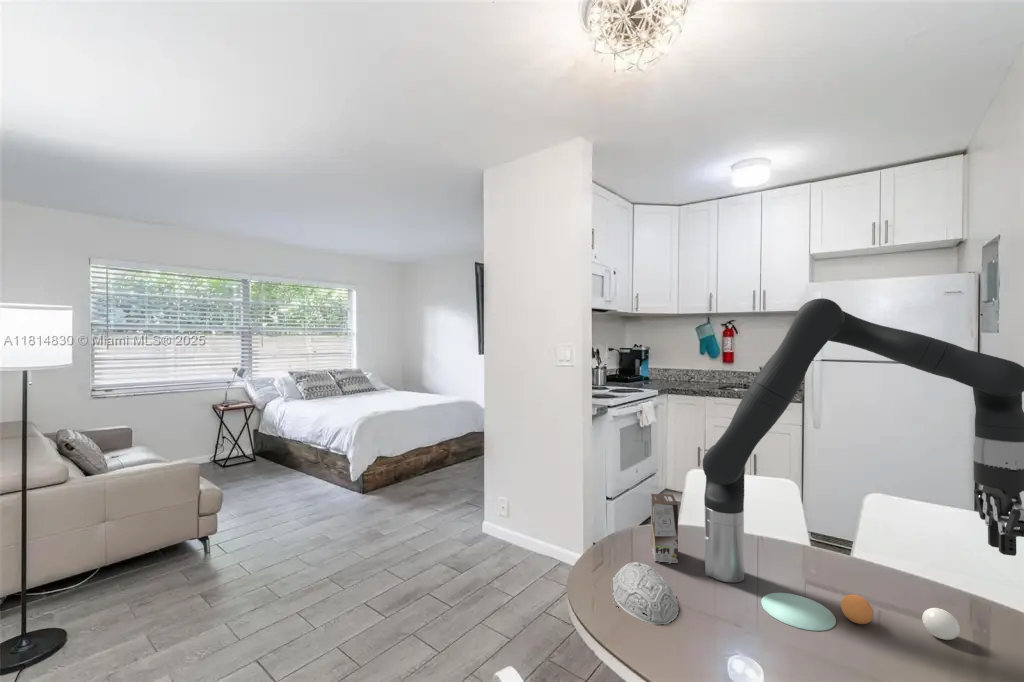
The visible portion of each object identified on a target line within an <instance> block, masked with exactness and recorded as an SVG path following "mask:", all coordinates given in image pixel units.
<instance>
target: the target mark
mask: <svg viewBox="0 0 1024 682" xmlns="http://www.w3.org/2000/svg"><path fill="white" fill-rule="evenodd" d="M760 603H761V606H762V608H763V610H764V611H765V612H766V613H767V614H768V615H770V616H771V617H772V618H774V619H776V620H777V621H779V622H781V623H783V624H785V625H788V626H791V627H793V628H797V629H800V630H804V631H805V630H806V631H811V632H812V631H813V632H823V631H829V630H831V629H833V628H834V627H835V625H837V624H836V623H837V621H836V616H835V615H834V613H832V612H831V611H830V610H829V609H828V608H827V607H826V606H824V605H823V604H821V603H819V602H818V601H815V600H812V599H810V598H807V597H806V596H801V595H797V594H793V593H787V592H773V593H772V592H771V593H768V594H766V595H764V596H763V597H762V598H761V602H760Z"/></svg>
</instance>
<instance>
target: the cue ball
mask: <svg viewBox="0 0 1024 682" xmlns="http://www.w3.org/2000/svg"><path fill="white" fill-rule="evenodd" d="M921 618H922V623H923V626H924V627H925V629H926V630H927V631H928V632H929V633H930V634H931V635H933V636H935V637H936V638H937V639H941V640H945V641H949V640H954V639H956V638H957V637H958V636H959V634H960V631H961V628H960V625H959V622H958V621H957V619H956V618H955V617H954V616H953V614H951V613H950V612H948V611H946V610H944V609H942V608H938V607H930V608H928V609H925V611H924V612H923V614H922V616H921Z"/></svg>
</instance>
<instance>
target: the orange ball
mask: <svg viewBox="0 0 1024 682" xmlns="http://www.w3.org/2000/svg"><path fill="white" fill-rule="evenodd" d="M840 608H841V611H842V612H843V614H844V615H845V617H846V618H847V619H848V620H850V621H851V622H852V623H855V624H856V625H857V624H858V625H866V624H869V623H870V622H871V621H872V620H873V618H874V610H873V607H872V606H871V604H870V602H869V601H868V600H867V599H866V598H864V597H863V596H861V595H859V594H847V595H845V596H844V597H843V598H842V599H841V601H840Z"/></svg>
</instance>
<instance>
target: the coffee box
mask: <svg viewBox="0 0 1024 682" xmlns="http://www.w3.org/2000/svg"><path fill="white" fill-rule="evenodd" d="M650 519H651V520H650V528H651V529H650V531H651V532H650V533H651V535H650V536H651V551H653V552H652V555H654V556H653V559H655V560H654V562H655V561H661V562H671V563H678V564H679V504H678V502H677V500H676V498H675V496H674V494H670V493H669V494H668V493H650ZM671 563H670V564H671Z"/></svg>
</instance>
